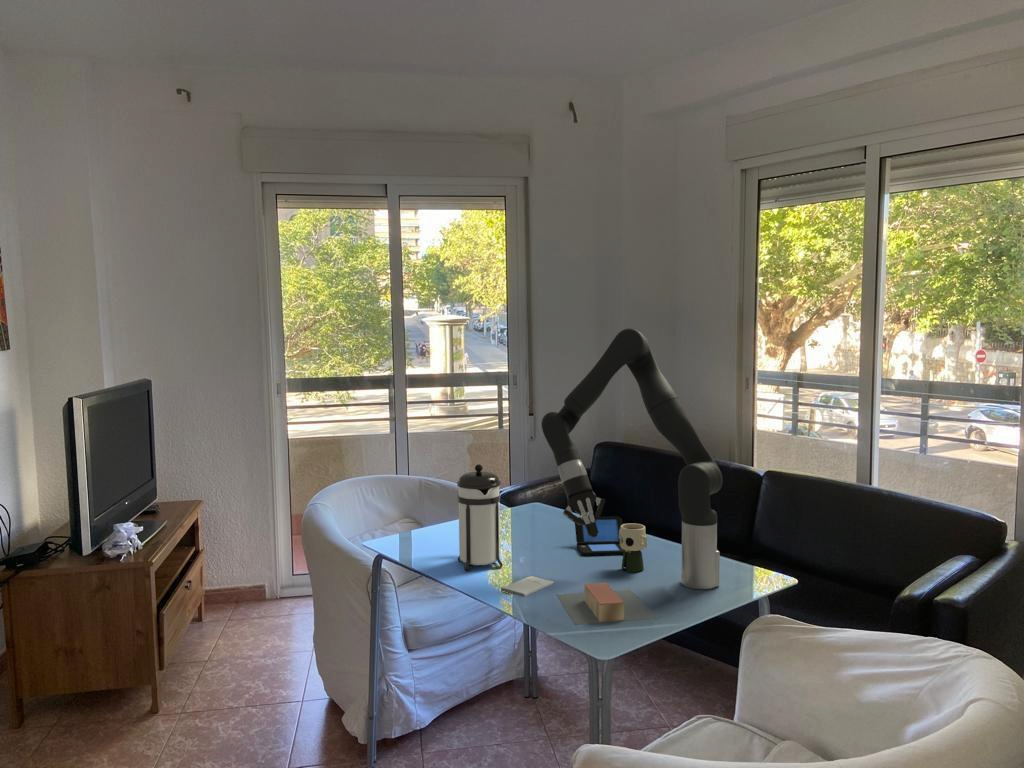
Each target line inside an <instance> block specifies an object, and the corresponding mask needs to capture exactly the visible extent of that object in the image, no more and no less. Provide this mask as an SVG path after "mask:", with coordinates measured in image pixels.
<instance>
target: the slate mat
mask: <svg viewBox="0 0 1024 768" xmlns="http://www.w3.org/2000/svg"><path fill="white" fill-rule="evenodd" d="M614 592H615V593H616V594H617V595H618V596H619V597H620V599H621V600H622V601H623V602H624V620H619V621H605V622H599V620H598V619H597V618H596V616H595V615H594V613H593V612H592V611H591V609H590V608H589V607H588V605H587V604H586V602H585V601H584V592H575V593H572V592H571V593H561V594H558V593H556V596H557V598H558V600H559V601H560V603H561V604H562V606H563V608H564V609H565V611H566V612H567V614H568V615H569V617H570V619H571V620H572V622H573V623H574V625H586V624H587V625H588V624H603V623H616V622H630V621H642V620H655V619H656V620H657V619H658V618H657V617H656V615H655V614H654V613H653V612H652V611H651V610H650V609H649V608H648V607H647V606H646V605H645V604H644V603H643V601H641V599H640V598H639V597H638V596H637V595H636V594H635V593H634V592H633V590H631V589H621V590H620V589H619V590H618V589H617V590H614Z"/></svg>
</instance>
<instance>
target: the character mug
mask: <svg viewBox="0 0 1024 768" xmlns="http://www.w3.org/2000/svg"><path fill="white" fill-rule="evenodd" d="M619 539H620V546H621V548H622V549H624V550H625V551H624V553H623V555H622V559H621V560H622V561H621V570H622V571H624V570H625V572H626V573H638V572H641V571H643V570H644V568H645V567H644V557H643V552H642V550H644V549H645V548H647V547H648V538H647V536H646V526H645V525H643V524H641V523H622V525H621V526H620V530H619Z"/></svg>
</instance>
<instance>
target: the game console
mask: <svg viewBox="0 0 1024 768" xmlns="http://www.w3.org/2000/svg"><path fill="white" fill-rule="evenodd" d="M577 517H578V516H577ZM578 518H579V519H581V517H580V516H579V517H578ZM587 518H588V516H587ZM581 520H582V519H581ZM588 520H589V519H588ZM595 523H596V526H597V529H598V534H597V537H594V538H591V536H590V537H589V536H588V534H587V531H586V528H585V526H584V525H577V524H576V523H575V522H574V530H575V541H576V548H577V550H578V552H579V553H580V555H582V556H584V557H595V556H596V557H597V556H598V557H600V556H602V557H603V556H623V553H624V551H625V550H624V549H622V548H621V546H620V539H619V530H620V526H621V525H623V520H622V518H621V517H620V516H600V518H599V519H598V520H596V522H595Z"/></svg>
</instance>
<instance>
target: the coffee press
mask: <svg viewBox="0 0 1024 768" xmlns="http://www.w3.org/2000/svg"><path fill="white" fill-rule="evenodd" d="M483 468H484V467H483V466H482V464H479V463H478V464H476V465H475V466H474V470H475V471H470V472H469V471H468V472H466V473H463V474H462V475H461V476H459V479H458V481H457V482H456V483H457V484H456V485H457V488H458V489H457V490H458V494H457V502H458V542H459V543H458V549H459V551H458V552H459V555H458V556H457V561H458V562H459V563H461V562H463V563H464V564H465V565H464V571H465V572H471V571H472V568H473V567H474V566H486V565H490V564H491V565H494V567H496V568H497V569H498V568H499V569H501V568H502V567H503V565H504V564H503V562H502V561H501V559H500V558H501V557H500V556H501V537H500V536H501V529H500V528H501V521H500V520H501V519H500V518H501V517H500V515H501V513H500V508H501V507H500V506H501V505H500V502H501V493H500V487H501V485H502V484H501V480H500V478H499V477H498V475H496V474H495V473H493V472H489V471H483Z"/></svg>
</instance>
